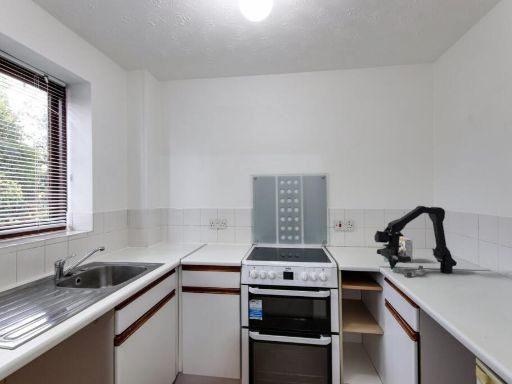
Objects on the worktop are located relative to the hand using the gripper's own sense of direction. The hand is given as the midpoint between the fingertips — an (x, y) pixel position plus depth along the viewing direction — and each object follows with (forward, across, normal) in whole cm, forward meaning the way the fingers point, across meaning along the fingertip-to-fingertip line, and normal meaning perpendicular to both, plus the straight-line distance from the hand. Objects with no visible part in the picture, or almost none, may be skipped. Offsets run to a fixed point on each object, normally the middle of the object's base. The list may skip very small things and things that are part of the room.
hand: (392, 269), depth 148 cm
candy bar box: (+2, -14, +30) cm, 33 cm away
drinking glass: (+3, -16, +19) cm, 25 cm away
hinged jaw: (+1, +5, +5) cm, 7 cm away
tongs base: (+2, +7, +6) cm, 9 cm away
